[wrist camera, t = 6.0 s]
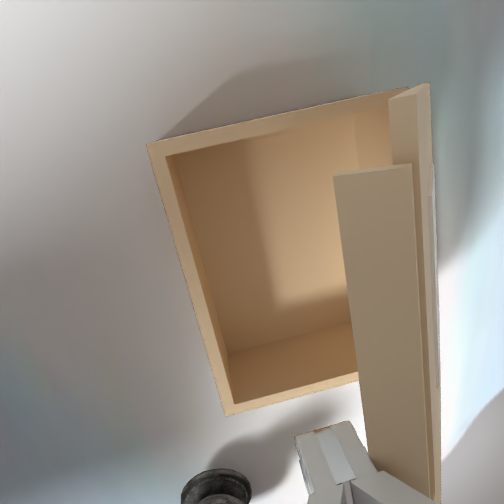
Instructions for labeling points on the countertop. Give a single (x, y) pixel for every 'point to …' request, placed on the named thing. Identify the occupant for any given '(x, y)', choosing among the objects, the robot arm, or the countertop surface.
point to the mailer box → (270, 243)
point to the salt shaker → (217, 488)
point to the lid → (397, 296)
